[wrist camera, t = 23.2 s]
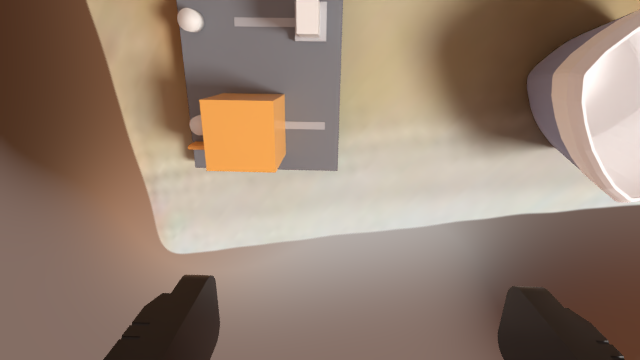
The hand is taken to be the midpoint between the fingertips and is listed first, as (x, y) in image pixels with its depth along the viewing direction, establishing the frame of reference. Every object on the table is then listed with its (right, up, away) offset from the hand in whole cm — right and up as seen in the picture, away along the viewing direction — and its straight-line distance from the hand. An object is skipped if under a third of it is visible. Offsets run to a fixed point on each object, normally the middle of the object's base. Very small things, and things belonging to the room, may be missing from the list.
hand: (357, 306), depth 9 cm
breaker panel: (-7, +15, +27) cm, 32 cm away
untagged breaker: (-2, +19, +23) cm, 30 cm away
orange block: (-8, +9, +27) cm, 29 cm away
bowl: (+27, +13, +27) cm, 40 cm away
